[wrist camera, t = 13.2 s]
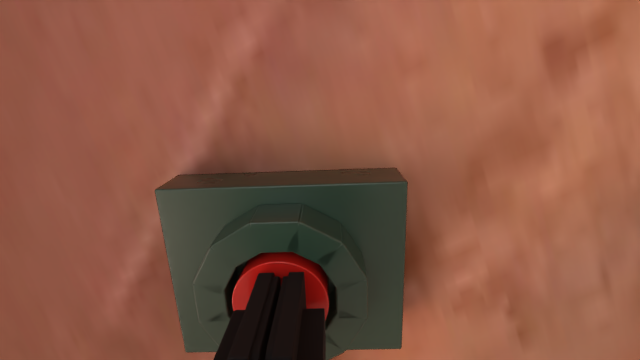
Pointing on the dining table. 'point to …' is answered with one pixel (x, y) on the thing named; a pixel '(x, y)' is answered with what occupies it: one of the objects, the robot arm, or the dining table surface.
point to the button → (281, 267)
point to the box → (289, 246)
